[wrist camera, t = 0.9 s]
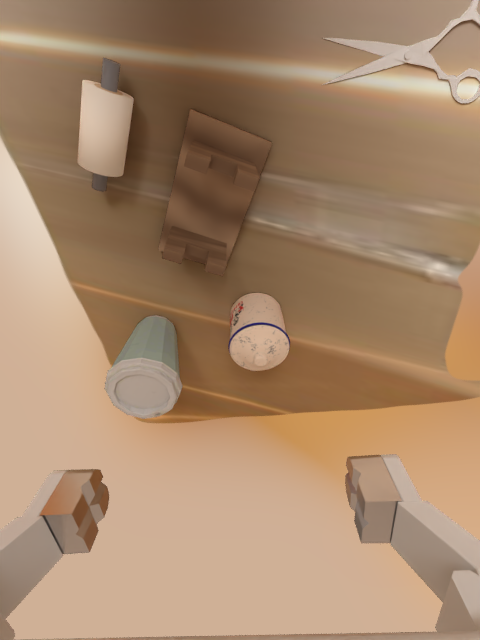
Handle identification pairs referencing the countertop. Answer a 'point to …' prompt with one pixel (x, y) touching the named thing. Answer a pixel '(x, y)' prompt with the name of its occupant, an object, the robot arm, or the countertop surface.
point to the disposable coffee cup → (146, 370)
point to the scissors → (413, 55)
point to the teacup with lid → (257, 332)
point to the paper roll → (104, 126)
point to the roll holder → (211, 191)
